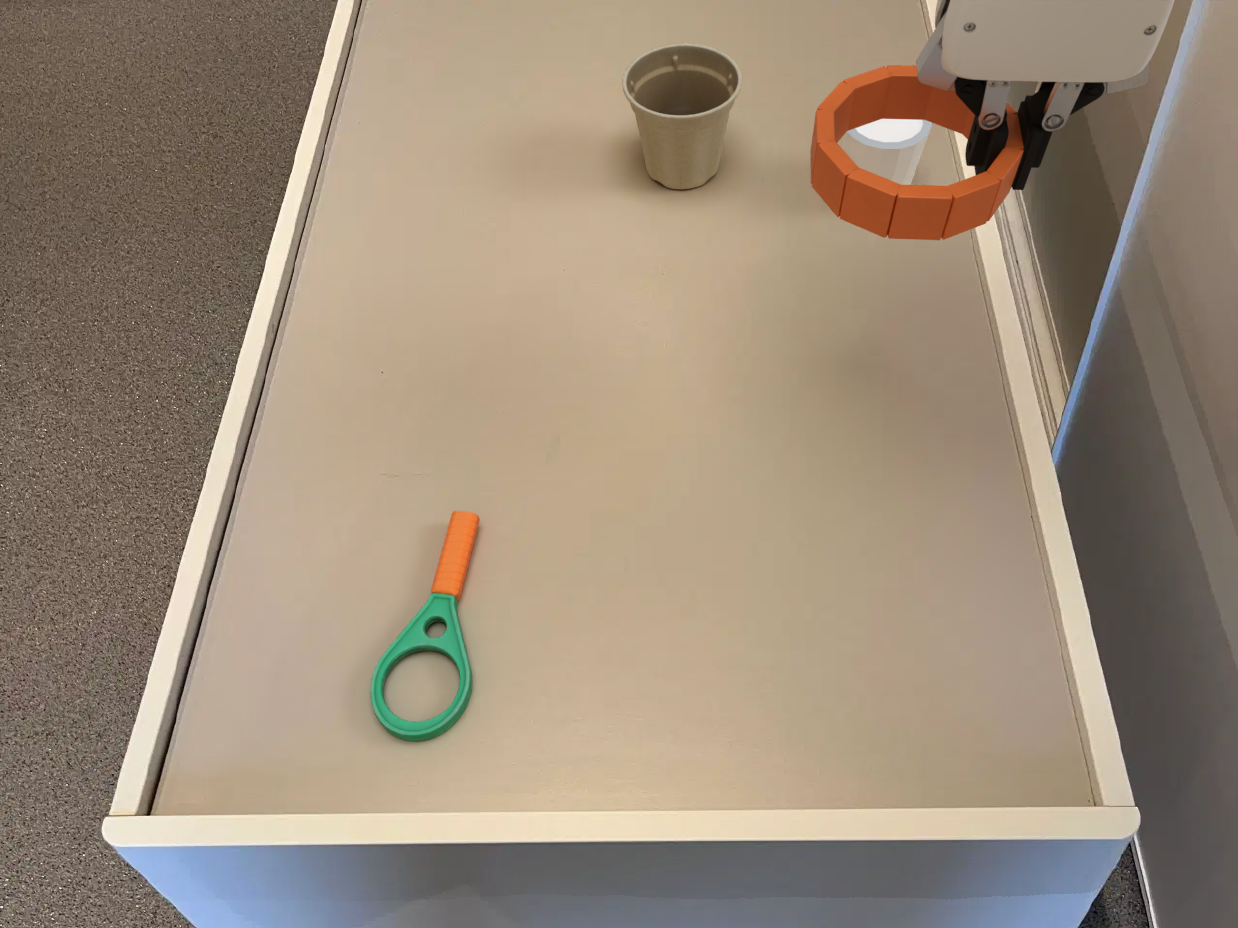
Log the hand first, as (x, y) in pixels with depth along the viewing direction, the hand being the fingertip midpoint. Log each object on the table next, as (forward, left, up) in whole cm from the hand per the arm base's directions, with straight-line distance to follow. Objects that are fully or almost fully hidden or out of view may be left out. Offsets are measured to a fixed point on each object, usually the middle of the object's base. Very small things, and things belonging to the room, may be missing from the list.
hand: (997, 171), depth 59 cm
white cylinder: (+3, -20, -20) cm, 28 cm away
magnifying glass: (+31, +22, -20) cm, 43 cm away
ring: (+5, 0, 0) cm, 5 cm away
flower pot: (+19, -22, -20) cm, 36 cm away
